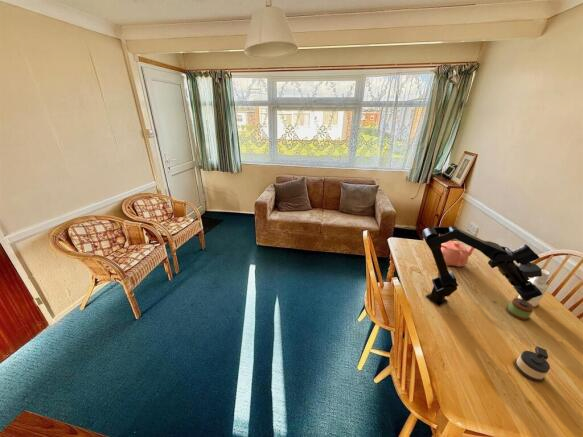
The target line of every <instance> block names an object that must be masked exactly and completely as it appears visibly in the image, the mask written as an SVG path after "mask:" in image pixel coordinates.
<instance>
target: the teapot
mask: <svg viewBox="0 0 583 437" xmlns="http://www.w3.org/2000/svg"><path fill="white" fill-rule="evenodd" d="M474 250H476V249H475V248H473V247H471V246H469V248H467V247H466V246H465V244H464V243H462V242H461V241H455V240H450V241H448V242H446V243H442V245H441V251H442V254H443V257H444V260H445V263H446V266H447V267H450V266H455V267H458V268H462V267H463V266H465V265H467V264H468V262H469V257H470V256H471V255H472V254H473V252H474Z"/></svg>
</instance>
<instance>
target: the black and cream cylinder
mask: <svg viewBox="0 0 583 437" xmlns="http://www.w3.org/2000/svg"><path fill="white" fill-rule="evenodd" d="M545 361H546V363H543V362H542V359H541V358H538V357H537V356H536V352H534V351H531V350H524V351H522V352H521V353H520V355H519V356H518V358H517V360H516V362H515V364H514V366H515V368H516V370H517V371H518V372H519V373H520V374H521V375H522V376H523V377H525V378H527V379H529V380H531V381H534V382H540V381H542V380H543V379H544V377H545V376H546V375H547V374H548V373H549V371H550V370H551V366H550V363H549V361H547V360H545Z"/></svg>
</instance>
